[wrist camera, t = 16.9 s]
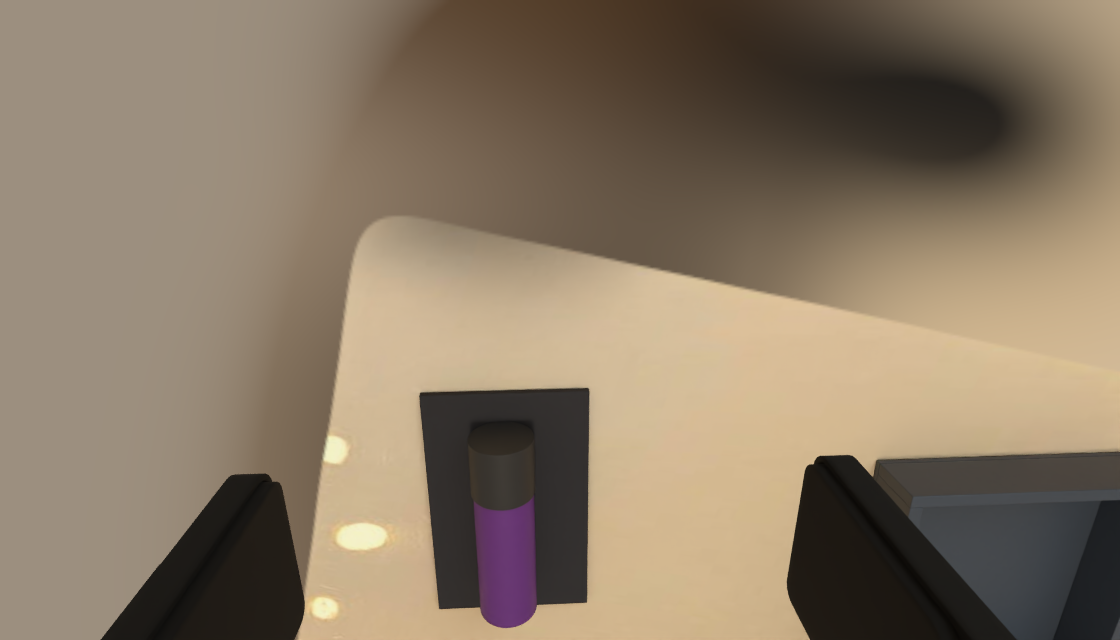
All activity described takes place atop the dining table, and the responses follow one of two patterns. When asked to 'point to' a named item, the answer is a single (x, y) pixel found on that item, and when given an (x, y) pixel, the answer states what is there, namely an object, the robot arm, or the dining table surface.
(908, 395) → the dining table surface
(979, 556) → the bin
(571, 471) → the mat
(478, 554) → the marker
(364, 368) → the dining table surface
